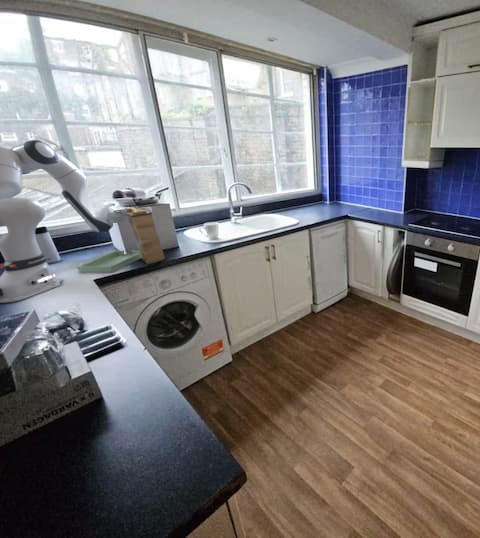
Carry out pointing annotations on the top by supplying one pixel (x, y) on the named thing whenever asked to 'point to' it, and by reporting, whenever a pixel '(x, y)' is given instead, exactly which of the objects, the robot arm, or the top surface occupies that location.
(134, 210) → the key
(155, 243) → the key stand
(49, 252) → the travel mug
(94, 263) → the tray
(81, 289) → the top surface
